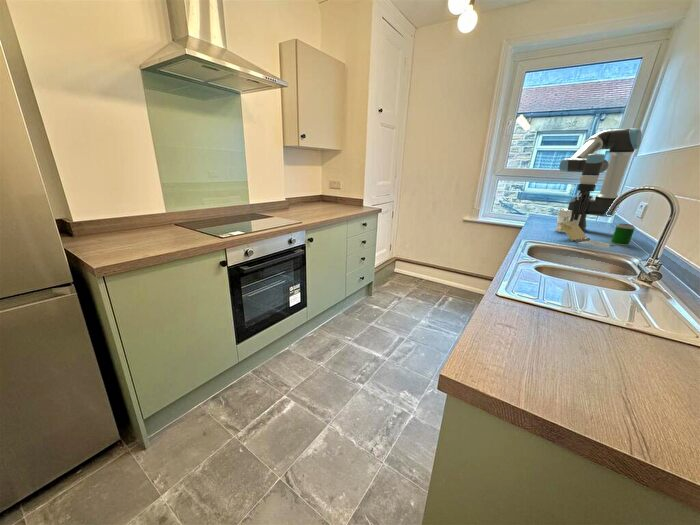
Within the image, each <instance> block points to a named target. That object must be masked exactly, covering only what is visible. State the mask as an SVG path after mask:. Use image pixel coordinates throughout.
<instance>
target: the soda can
mask: <svg viewBox="0 0 700 525" xmlns="http://www.w3.org/2000/svg"><path fill="white" fill-rule="evenodd" d="M634 231H635V226H634V225H633V224H628V223H619V224H617V225H616V227H615V229H614V233H613V235H612V238H611V241H610V244H613V245H617V246H618V245H619V246H629V244H630V242H631V240H632V236H633V234H634Z"/></svg>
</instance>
